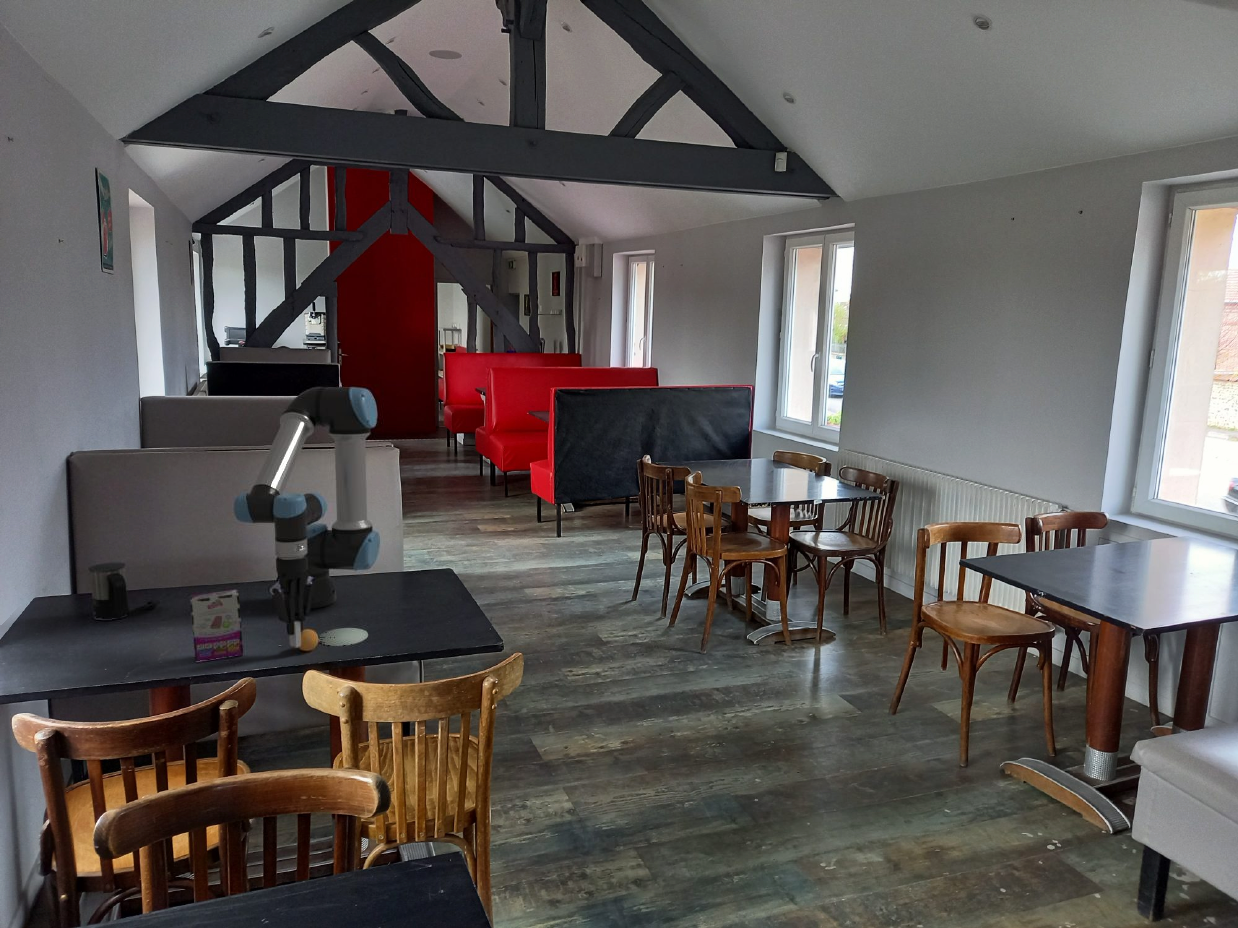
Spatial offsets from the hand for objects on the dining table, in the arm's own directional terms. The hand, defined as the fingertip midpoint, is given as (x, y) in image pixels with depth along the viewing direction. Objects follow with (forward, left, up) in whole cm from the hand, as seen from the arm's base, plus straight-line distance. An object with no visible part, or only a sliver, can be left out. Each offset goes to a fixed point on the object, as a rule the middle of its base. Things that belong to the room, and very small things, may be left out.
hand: (295, 645), depth 222 cm
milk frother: (-64, -10, -3) cm, 65 cm away
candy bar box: (-14, -12, -3) cm, 19 cm away
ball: (0, +3, 0) cm, 3 cm away
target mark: (0, +15, -2) cm, 15 cm away
